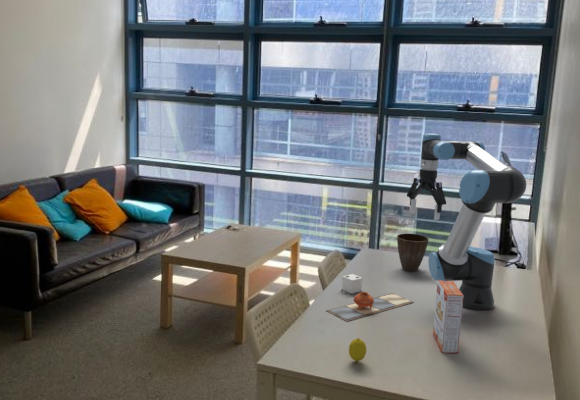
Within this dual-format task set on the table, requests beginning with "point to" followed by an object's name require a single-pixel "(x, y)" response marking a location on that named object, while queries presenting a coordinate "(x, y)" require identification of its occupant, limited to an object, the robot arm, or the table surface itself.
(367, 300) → the pot
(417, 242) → the plant pot
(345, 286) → the die
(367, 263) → the table surface
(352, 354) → the lemon
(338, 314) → the board
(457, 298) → the cracker box
